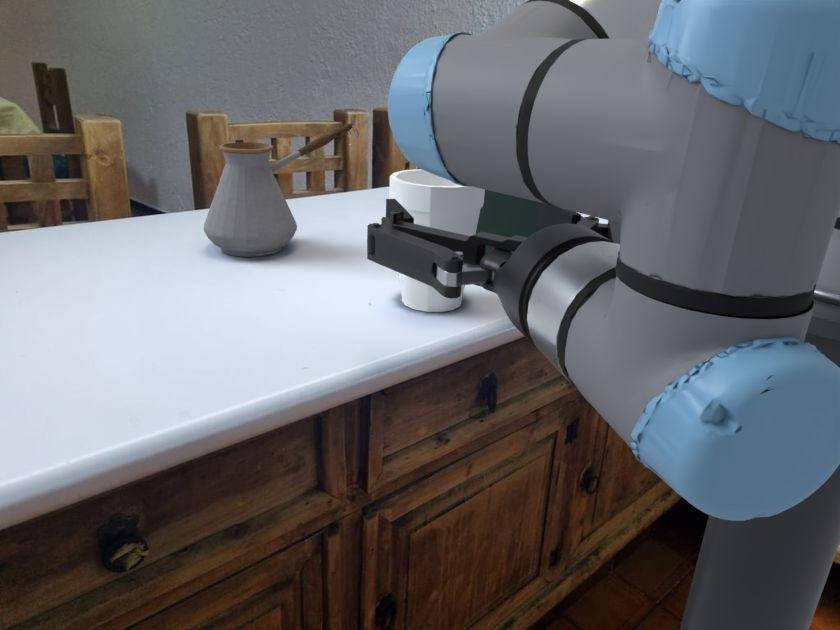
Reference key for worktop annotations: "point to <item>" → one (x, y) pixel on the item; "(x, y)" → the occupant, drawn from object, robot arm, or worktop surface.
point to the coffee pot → (254, 199)
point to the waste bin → (507, 216)
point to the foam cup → (434, 224)
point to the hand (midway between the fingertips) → (467, 213)
